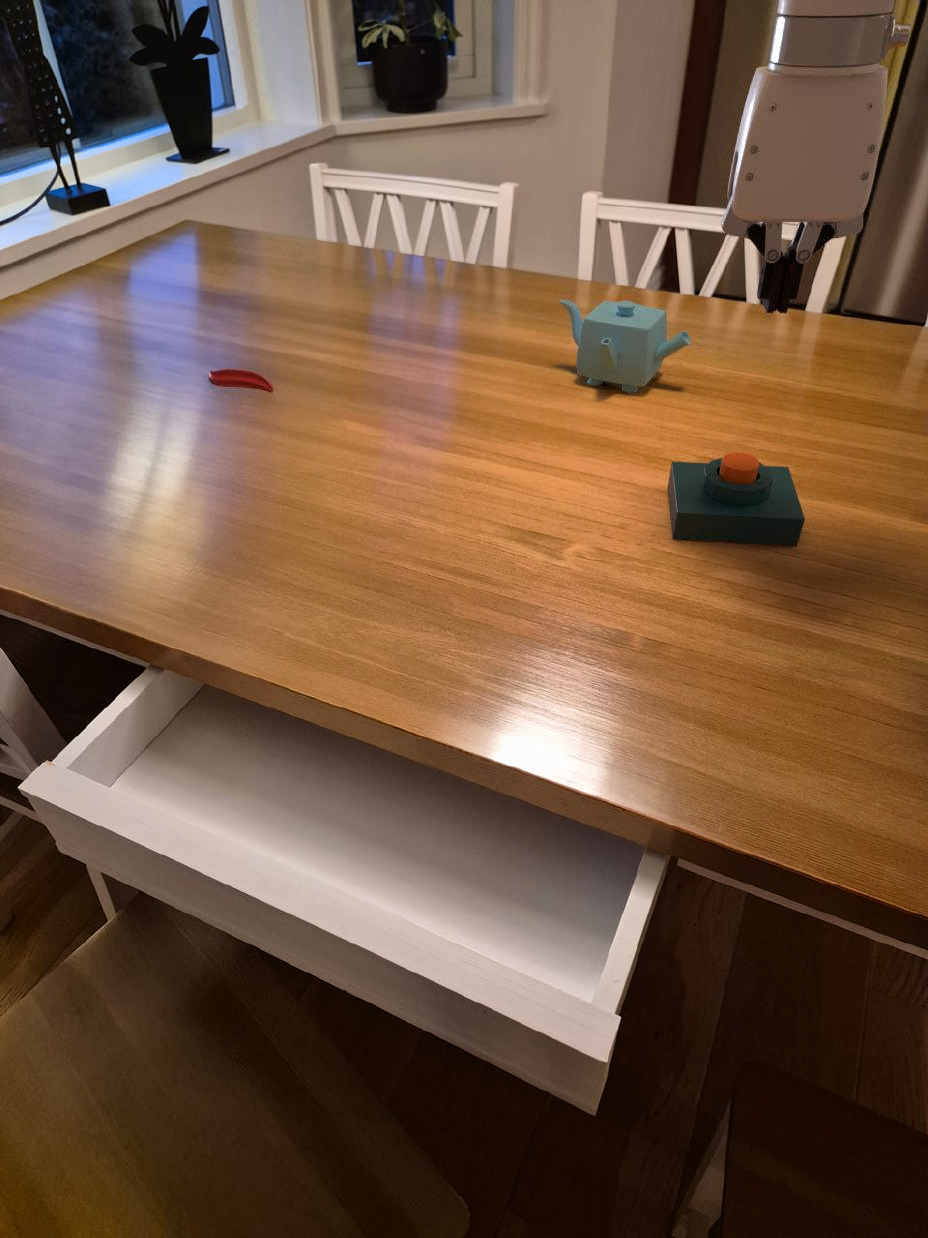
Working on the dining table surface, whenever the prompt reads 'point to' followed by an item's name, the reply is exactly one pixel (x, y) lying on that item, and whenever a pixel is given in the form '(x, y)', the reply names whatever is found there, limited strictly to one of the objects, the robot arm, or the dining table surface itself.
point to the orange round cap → (739, 468)
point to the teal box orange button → (734, 505)
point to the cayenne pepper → (239, 379)
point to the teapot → (622, 343)
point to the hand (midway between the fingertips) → (774, 307)
